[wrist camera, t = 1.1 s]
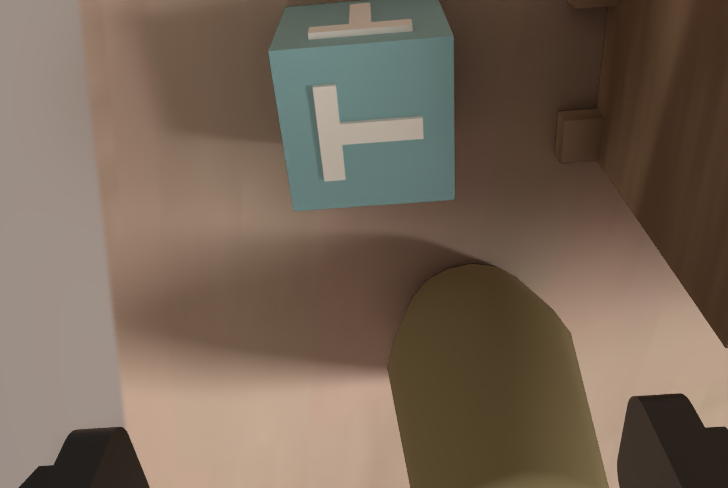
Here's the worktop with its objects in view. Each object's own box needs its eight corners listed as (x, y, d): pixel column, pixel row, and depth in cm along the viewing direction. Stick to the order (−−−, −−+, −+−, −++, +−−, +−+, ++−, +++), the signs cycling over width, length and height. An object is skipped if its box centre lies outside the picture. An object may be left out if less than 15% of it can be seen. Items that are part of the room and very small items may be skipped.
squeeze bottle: (423, 392, 35) (471, 833, 20) (356, 279, 31) (353, 724, 16) (573, 341, 33) (753, 785, 18) (523, 214, 29) (699, 648, 14)
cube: (435, -12, 24) (454, 31, 19) (438, 134, 27) (455, 202, 22) (285, 0, 24) (266, 46, 19) (304, 144, 27) (292, 214, 23)
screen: (718, -67, 23) (997, 26, 13) (677, 145, 27) (863, 339, 17) (572, -54, 23) (735, 47, 13) (554, 154, 28) (667, 351, 17)
